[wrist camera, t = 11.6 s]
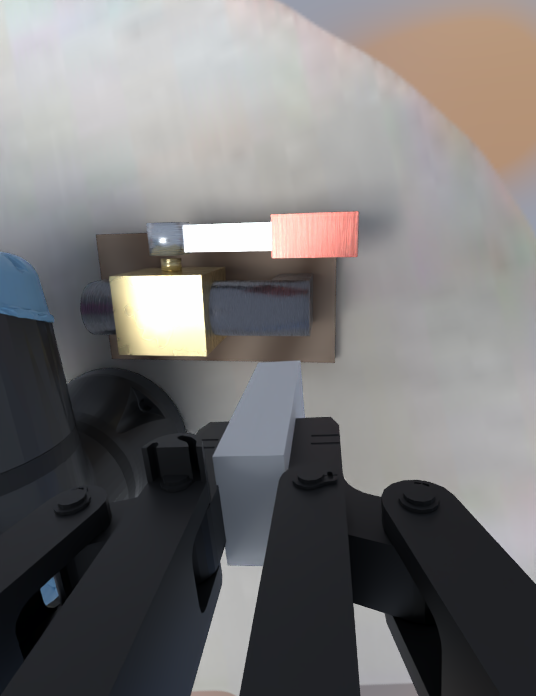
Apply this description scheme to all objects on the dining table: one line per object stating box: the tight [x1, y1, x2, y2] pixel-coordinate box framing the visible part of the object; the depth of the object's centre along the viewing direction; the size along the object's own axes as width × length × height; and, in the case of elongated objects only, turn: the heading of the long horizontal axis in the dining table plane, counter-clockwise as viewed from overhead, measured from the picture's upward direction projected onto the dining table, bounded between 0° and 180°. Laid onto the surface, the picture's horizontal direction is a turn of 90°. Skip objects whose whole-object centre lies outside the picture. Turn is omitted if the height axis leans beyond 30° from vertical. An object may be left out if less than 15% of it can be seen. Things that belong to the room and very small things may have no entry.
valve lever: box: [146, 211, 359, 258], centre depth 32 cm, size 3×3×16 cm
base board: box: [96, 233, 336, 363], centre depth 40 cm, size 22×12×2 cm, turn 92°
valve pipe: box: [80, 258, 313, 356], centre depth 35 cm, size 18×7×8 cm, turn 92°
